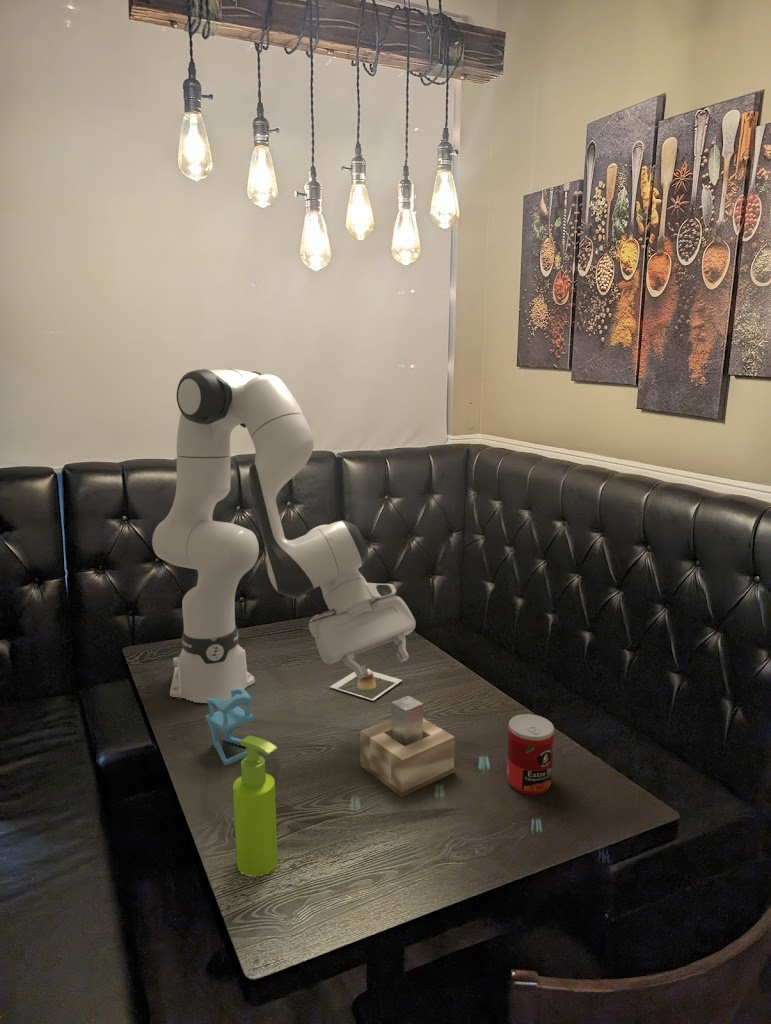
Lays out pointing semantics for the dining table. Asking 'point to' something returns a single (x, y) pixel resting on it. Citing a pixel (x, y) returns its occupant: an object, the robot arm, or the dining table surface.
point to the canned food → (530, 753)
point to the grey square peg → (406, 720)
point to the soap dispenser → (255, 811)
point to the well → (407, 757)
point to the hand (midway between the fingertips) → (384, 668)
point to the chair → (229, 720)
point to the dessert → (366, 682)
